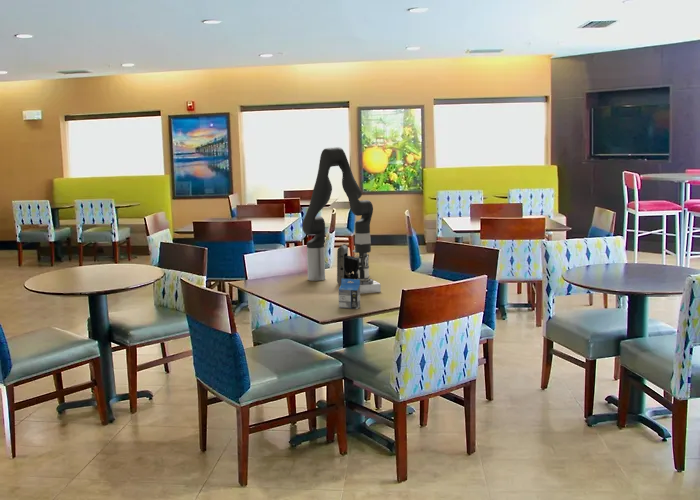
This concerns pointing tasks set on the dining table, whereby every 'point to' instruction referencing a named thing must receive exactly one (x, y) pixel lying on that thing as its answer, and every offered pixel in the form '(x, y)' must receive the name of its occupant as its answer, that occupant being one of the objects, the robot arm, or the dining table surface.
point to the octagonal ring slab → (369, 286)
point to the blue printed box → (349, 294)
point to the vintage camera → (346, 265)
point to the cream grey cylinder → (364, 273)
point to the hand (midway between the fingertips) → (363, 277)
